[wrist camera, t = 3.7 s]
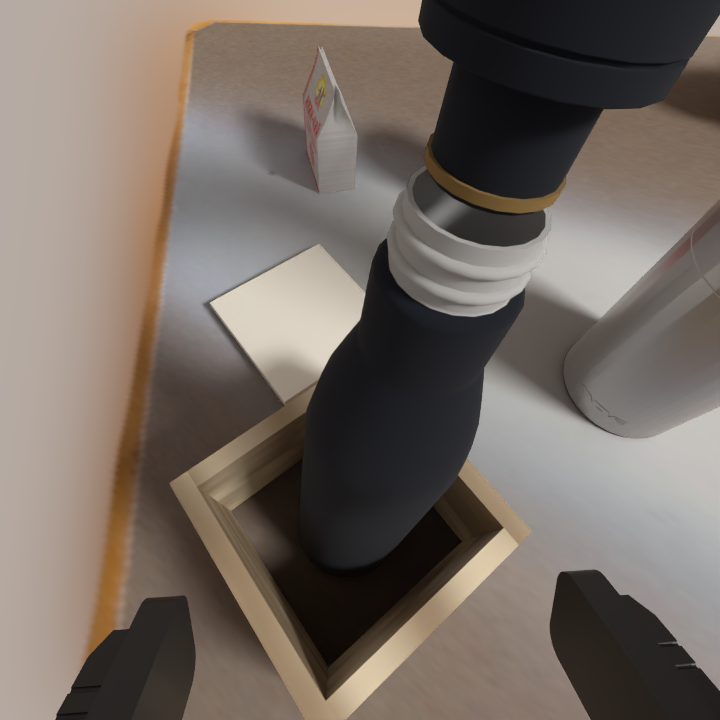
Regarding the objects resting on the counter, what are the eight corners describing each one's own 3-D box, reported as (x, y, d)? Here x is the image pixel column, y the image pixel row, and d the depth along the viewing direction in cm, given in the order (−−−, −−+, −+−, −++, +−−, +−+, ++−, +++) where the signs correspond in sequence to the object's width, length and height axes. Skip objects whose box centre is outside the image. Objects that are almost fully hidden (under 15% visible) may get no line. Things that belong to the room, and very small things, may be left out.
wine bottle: (277, 523, 27) (194, -518, 3) (346, 458, 31) (559, -310, 7) (348, 603, 25) (1498, -636, 1) (414, 524, 29) (1091, -245, 4)
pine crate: (362, 399, 33) (369, 349, 26) (482, 544, 28) (532, 531, 21) (210, 508, 28) (169, 483, 21) (324, 697, 24) (320, 745, 17)
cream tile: (319, 251, 39) (318, 243, 38) (395, 333, 36) (397, 326, 35) (212, 309, 36) (209, 302, 35) (285, 407, 32) (284, 402, 31)
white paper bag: (339, 146, 46) (340, 44, 38) (354, 189, 44) (359, 88, 35) (306, 150, 46) (299, 47, 37) (319, 193, 43) (315, 93, 34)
